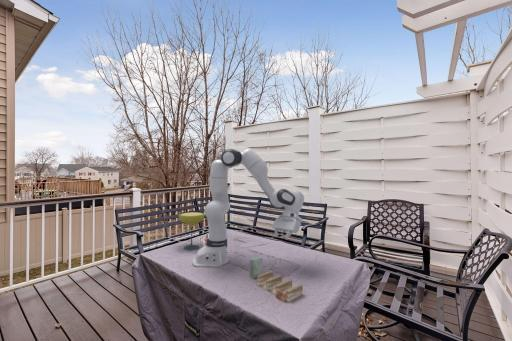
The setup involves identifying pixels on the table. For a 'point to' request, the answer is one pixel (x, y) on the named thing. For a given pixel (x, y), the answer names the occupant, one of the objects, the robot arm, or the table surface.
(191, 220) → the cocktail glass
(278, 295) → the rack
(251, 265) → the block
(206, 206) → the robot arm
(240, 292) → the table surface
